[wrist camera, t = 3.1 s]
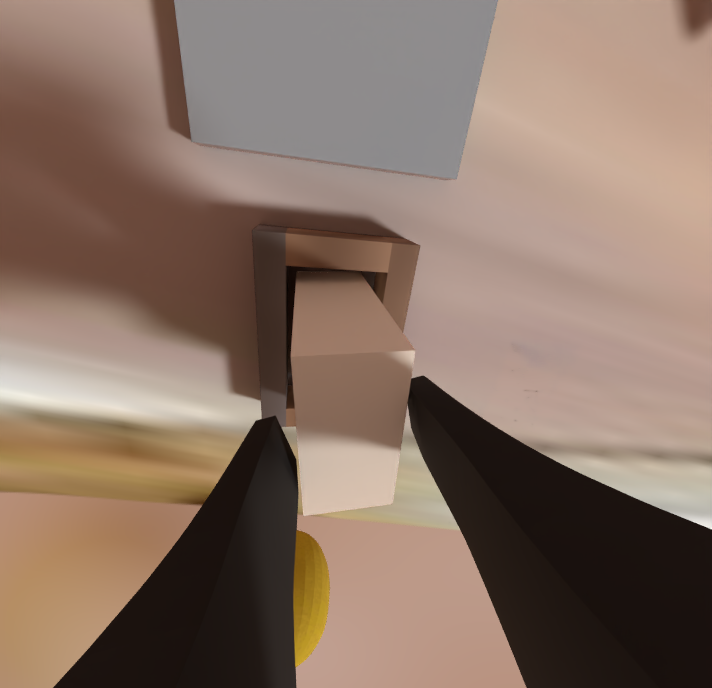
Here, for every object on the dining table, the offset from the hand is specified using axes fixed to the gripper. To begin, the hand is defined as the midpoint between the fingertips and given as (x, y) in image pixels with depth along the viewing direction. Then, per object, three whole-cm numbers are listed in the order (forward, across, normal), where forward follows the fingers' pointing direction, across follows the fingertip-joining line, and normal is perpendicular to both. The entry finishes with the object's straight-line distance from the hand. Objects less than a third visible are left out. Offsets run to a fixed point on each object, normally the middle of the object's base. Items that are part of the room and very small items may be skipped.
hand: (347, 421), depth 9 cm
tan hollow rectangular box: (+7, 0, 0) cm, 7 cm away
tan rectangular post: (+7, 0, 0) cm, 7 cm away
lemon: (+7, +7, +16) cm, 19 cm away
